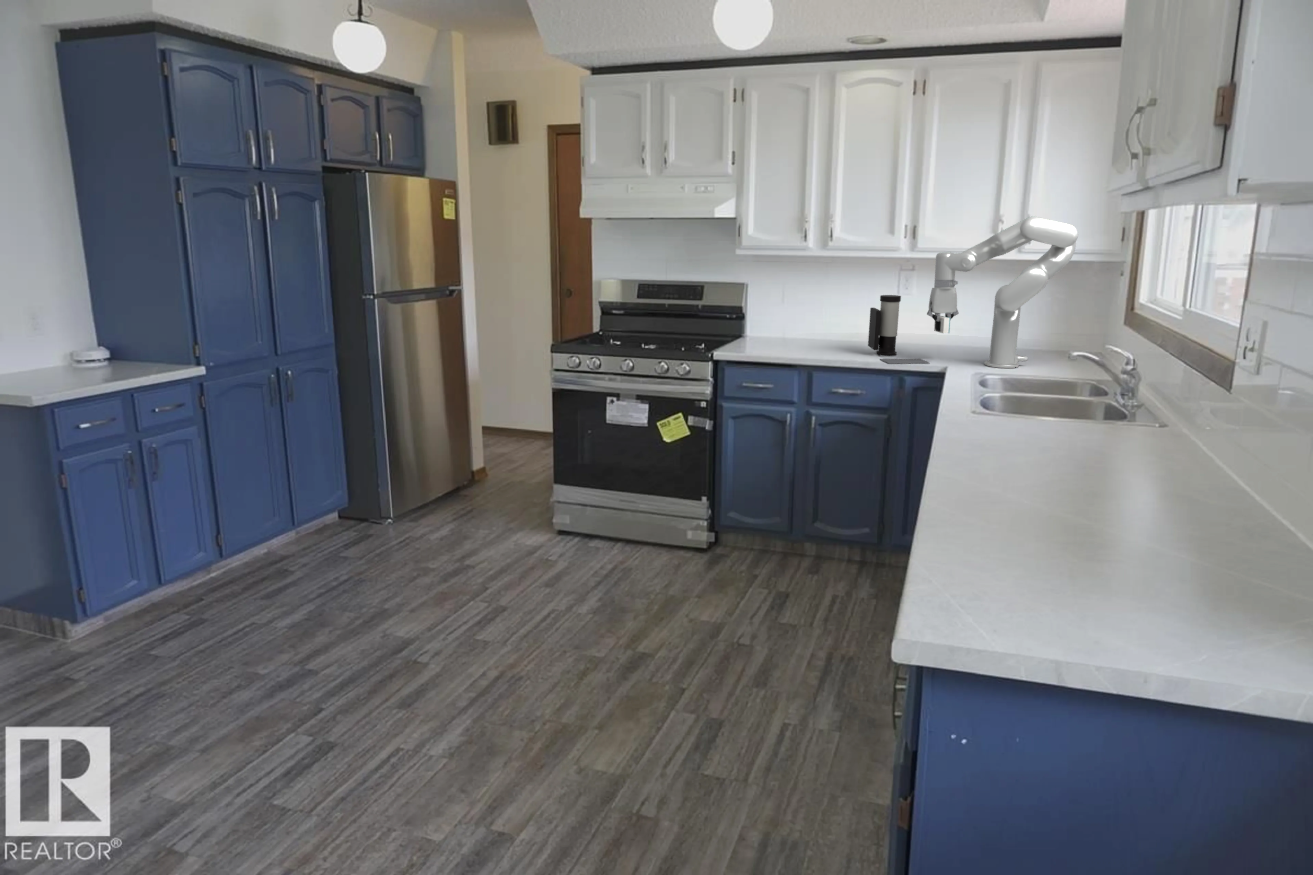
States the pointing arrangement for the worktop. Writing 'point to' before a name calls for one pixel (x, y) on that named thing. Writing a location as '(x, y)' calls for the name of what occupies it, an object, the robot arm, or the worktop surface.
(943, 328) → the deck
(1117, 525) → the worktop surface
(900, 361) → the mat
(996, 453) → the worktop surface
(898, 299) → the light fixture
